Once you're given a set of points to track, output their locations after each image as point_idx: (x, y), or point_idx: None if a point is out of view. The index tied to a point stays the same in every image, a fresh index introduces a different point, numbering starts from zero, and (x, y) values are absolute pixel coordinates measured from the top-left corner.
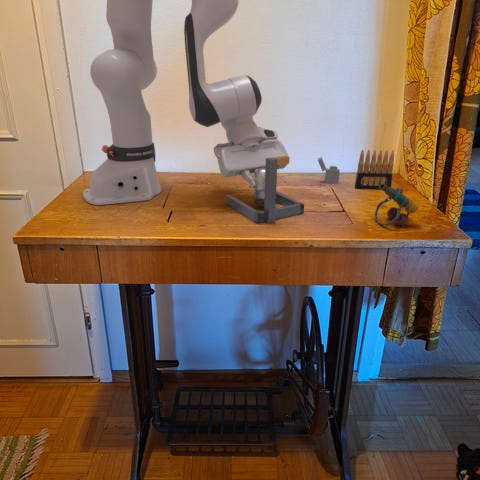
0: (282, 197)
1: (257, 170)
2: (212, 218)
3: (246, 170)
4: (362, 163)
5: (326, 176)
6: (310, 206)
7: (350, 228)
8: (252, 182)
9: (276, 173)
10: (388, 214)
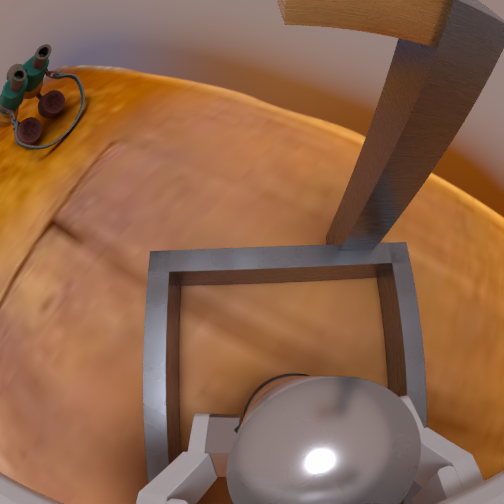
0: (167, 404)
1: (413, 442)
2: (496, 365)
3: (467, 485)
4: None
5: None
6: (90, 318)
7: (143, 121)
8: (414, 410)
9: (394, 65)
10: (33, 136)
